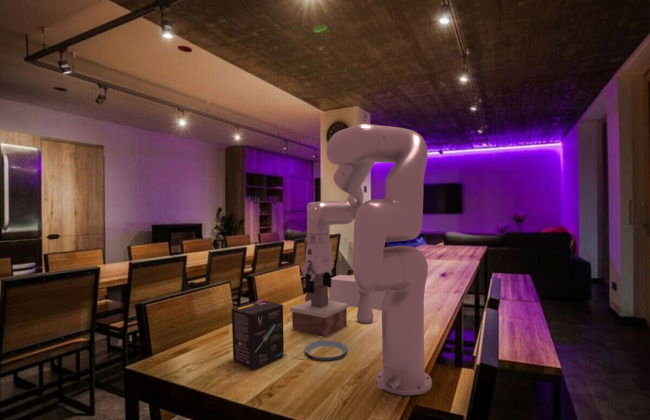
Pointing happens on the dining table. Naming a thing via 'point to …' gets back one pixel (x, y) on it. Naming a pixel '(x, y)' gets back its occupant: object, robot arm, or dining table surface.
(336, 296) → the pink rectangular block
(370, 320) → the salt shaker
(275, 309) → the tampon box
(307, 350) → the saucer
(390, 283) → the robot arm
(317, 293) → the lid
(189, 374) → the dining table surface
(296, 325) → the box
